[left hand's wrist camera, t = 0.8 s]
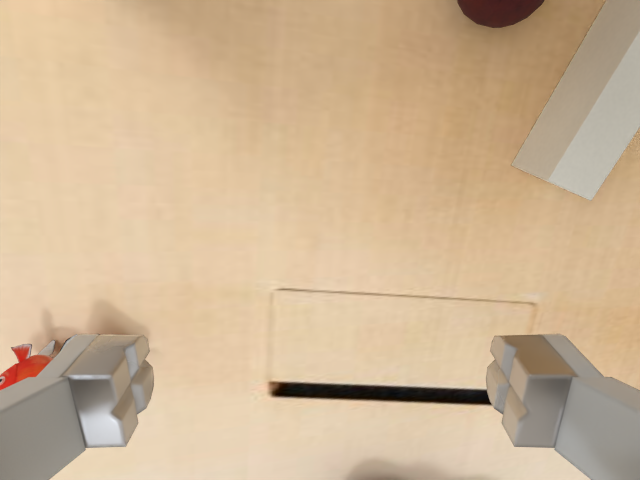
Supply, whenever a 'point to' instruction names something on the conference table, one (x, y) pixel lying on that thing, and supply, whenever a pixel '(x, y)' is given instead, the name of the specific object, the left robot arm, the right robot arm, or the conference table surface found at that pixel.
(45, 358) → the fish
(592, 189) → the bar
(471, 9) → the dark red plum
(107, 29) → the conference table surface
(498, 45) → the conference table surface
